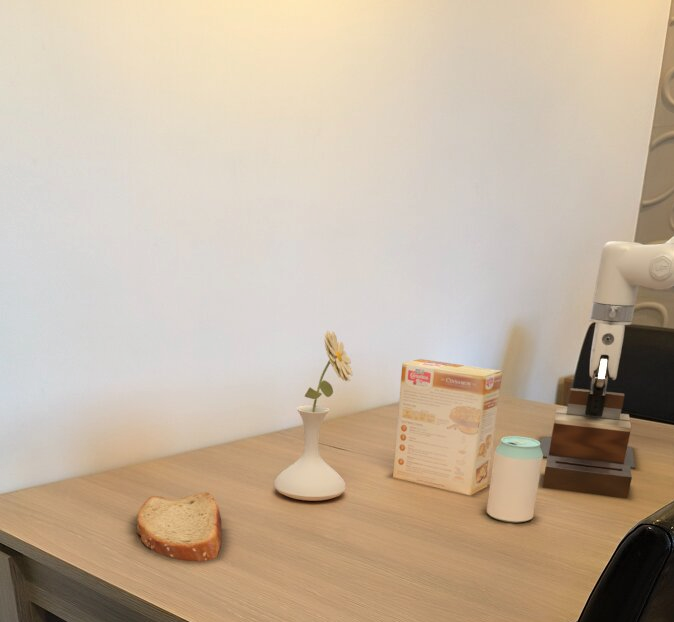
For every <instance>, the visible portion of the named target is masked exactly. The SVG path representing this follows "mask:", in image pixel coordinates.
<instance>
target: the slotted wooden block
mask: <svg viewBox="0 0 674 622" xmlns="http://www.w3.org/2000/svg"><path fill="white" fill-rule="evenodd" d="M542 480H543V481H542V486H541V488H542V489H549V490H557V491H563V492H572V493H580V494H588V495H595V496H603V497H611V498H616V499H617V498H618V499H625V500H627V499H628V498H629V494H630V488H631V483H632V480H633V475H632V469H631V467H630V465H622V464H614V463H606V462H598V461H590V460H581V459H573V458H565V457H557V456H549V455H548V457H547V458H546V463H545V469H544V474H543V479H542Z"/></svg>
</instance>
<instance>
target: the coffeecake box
mask: <svg viewBox="0 0 674 622" xmlns="http://www.w3.org/2000/svg"><path fill="white" fill-rule="evenodd" d="M502 377H503V370H499V369H492V368H484V367H477V366H472V365H465V364H464V365H463V364H457V363H450V362H445V361H444V362H443V361H437V360H431V359H425V358H419V359H415V360H411V361H406V362H403V363H402V366H401V375H400V388H399V397H398V398H399V399H398V400H399V401H398V411H397V412H398V413H397V424H396V433H395V435H396V436H395V445H394V446H395V448H394V458H393V459H394V460H393V470H392V473H393V474H392V478H395V479H398V480H402V481H407V482H411V483H415V484H419V485H424V486H428V487H432V488H435V489H441V490H444V491H449V492H453V493H456V494H457V493H458V494H462V495H466V496H473V495H474V494H477V493H478V492H480V491H481V490H483V489H485V488H487V487H488V482H489V477H490V476H489V474H490V470H491V469H490V468H491V462H492V453H493V446H494V445H493V444H494V439H495V432H496V431H495V430H496V423H497V416H498V408H499V401H500V394H501V385H502Z"/></svg>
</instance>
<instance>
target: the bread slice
mask: <svg viewBox="0 0 674 622" xmlns="http://www.w3.org/2000/svg"><path fill="white" fill-rule="evenodd" d="M136 533H137V534H138V535H139V536H140V540H141V543H143V544H144V545H145V547H147V548H148V549H150V550H151V551H153V552H154V553H157V554H159V555H162V556H165V557H167V558H170V559H175V560H178V561H179V560H180V561H187V562H198V563H200V562H207V561H211V560H214V559H216V558H217V557H218V556H219V551H220V550H221V549H220V548H221V546H222V517H221V512H220V508H219V506H218V504H217V502H216V500H215V498H214V496H212V494H211V493H210V492H207V491H206V492H202V493H197V494H192V495H188V496H186V497H182V498H169V497H163V496H159V495H152V496H150V497H148V498H147V499H146V500H145V501H144V503H143V504H142V505H141V507H140V508H139V511H138V514H137V516H136Z"/></svg>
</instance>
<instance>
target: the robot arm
mask: <svg viewBox="0 0 674 622" xmlns="http://www.w3.org/2000/svg"><path fill="white" fill-rule="evenodd" d="M639 287H644V288H649V289H651V290H657V291H660V290H661V291H663V290H668V289H672V288H673V287H674V235H673V236H672V237H671V238H670V239H668V240H667V241H666V242H664V243H655V244H642V243H641V242H635V241H625V240H612V241H611V240H610V241H607V242H605V244H604V245H603V247H602V249H601V253H600V258H599V264H598V270H597V275H596V282H595V287H594V293H593V297H592V298H593V299H592V304H591V310H590V314H589V322H591V323H595V325H594V331H593V336H592V342H591V350H590V358H589V377H590V378H591V380H590V387H588V390H591V391H590V394H588V400H587V405H586V411H585V414H586V415H589V416H598V417H601V416H602V415H603V410H604V404H605V399H606V395H605V393H606V392H607V388H608V387H607V386H608V381H609V378H611V380H612V381H615V380H616V379H617V376H618V370H619V364H620V359H621V355H622V347H623V343H624V339H625V338H624V337H625V330H626V329H625V328H626V326H630V325H631V326H632V323H633V318H634V313H635V307H636V303H637V297H638V293H639Z"/></svg>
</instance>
